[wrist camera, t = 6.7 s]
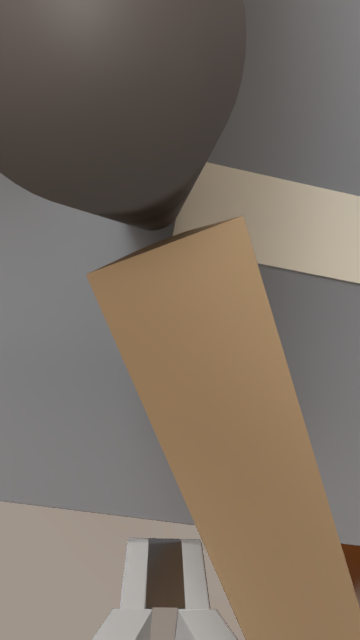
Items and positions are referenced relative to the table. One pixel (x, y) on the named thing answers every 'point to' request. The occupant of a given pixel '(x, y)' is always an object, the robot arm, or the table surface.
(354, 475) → the mat
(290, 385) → the board
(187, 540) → the robot arm
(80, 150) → the fence fixed
